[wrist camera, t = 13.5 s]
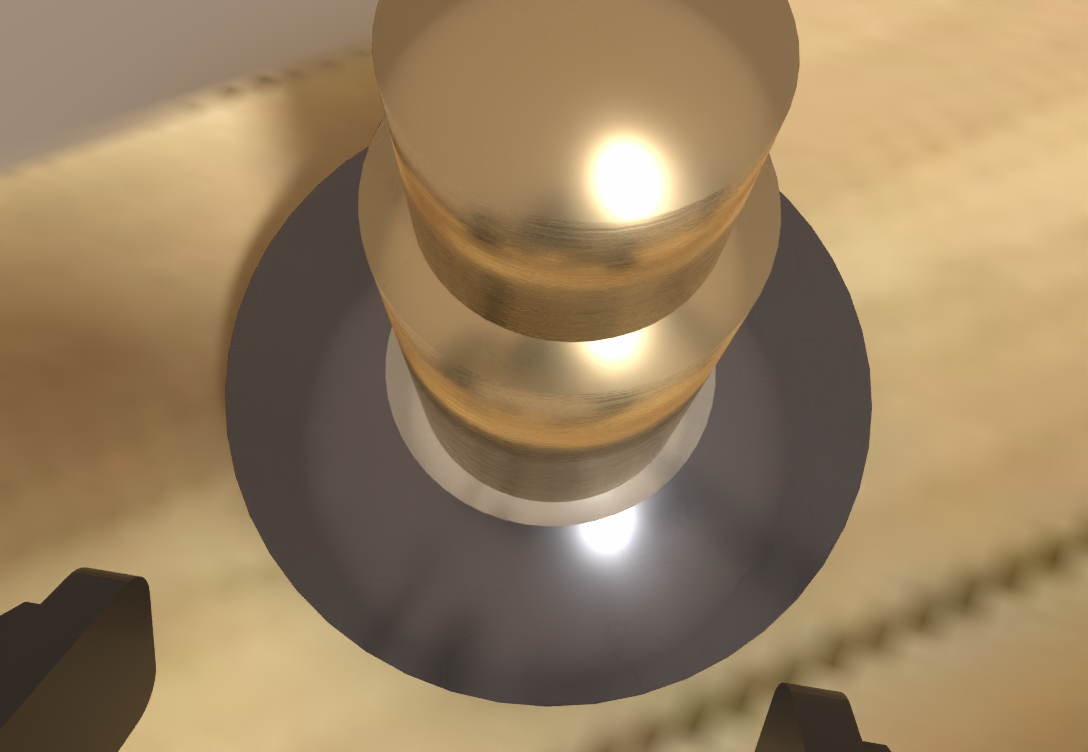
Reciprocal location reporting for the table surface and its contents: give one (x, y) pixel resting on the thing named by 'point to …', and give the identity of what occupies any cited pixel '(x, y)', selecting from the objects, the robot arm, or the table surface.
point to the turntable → (531, 526)
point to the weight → (571, 219)
